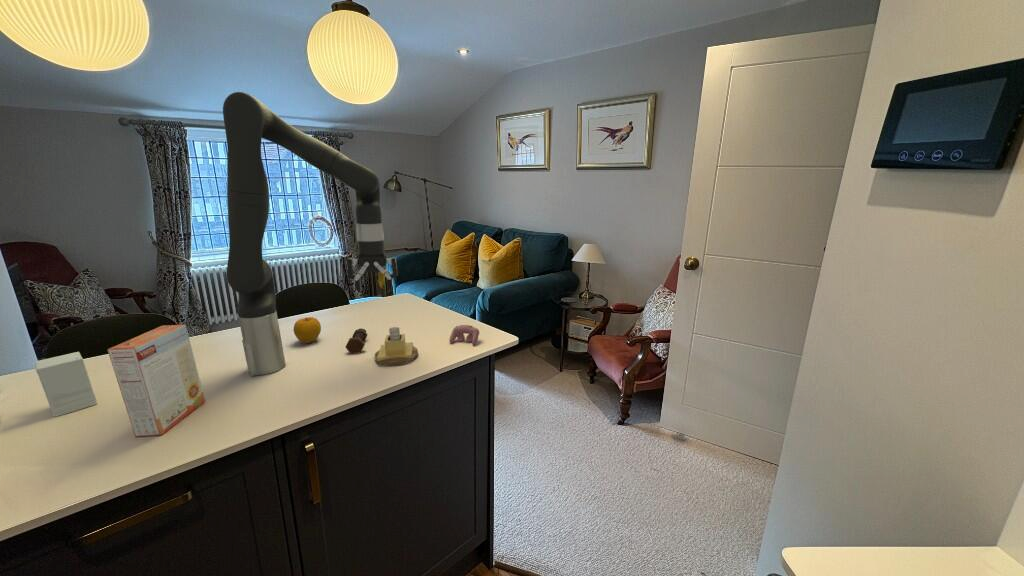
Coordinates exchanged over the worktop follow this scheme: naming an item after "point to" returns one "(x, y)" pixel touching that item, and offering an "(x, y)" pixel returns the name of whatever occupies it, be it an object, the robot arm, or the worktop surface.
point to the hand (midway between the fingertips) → (374, 291)
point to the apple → (307, 329)
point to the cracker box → (157, 379)
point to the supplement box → (66, 383)
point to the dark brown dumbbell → (357, 341)
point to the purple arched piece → (467, 329)
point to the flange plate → (395, 349)
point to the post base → (395, 362)
